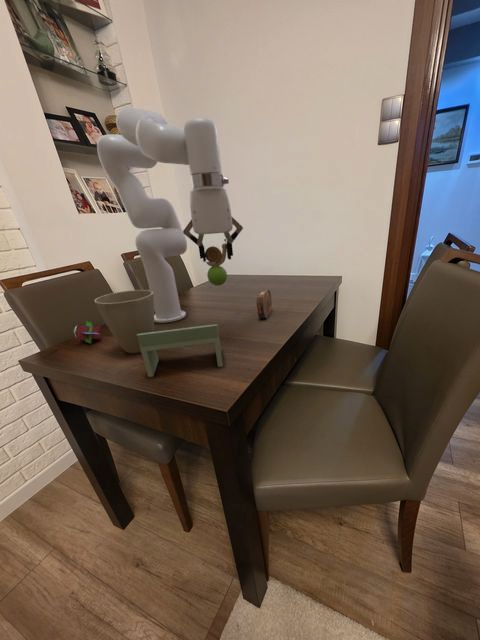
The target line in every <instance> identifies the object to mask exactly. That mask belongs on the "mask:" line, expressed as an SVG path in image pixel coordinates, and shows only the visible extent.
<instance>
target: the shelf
mask: <svg viewBox="0 0 480 640" xmlns="http://www.w3.org/2000/svg"><path fill="white" fill-rule="evenodd" d="M137 339H138V342H139V346H140V349H141V352H140V353H141V356H142V360H143V363H144V367H145V371H146V375H147V378H153V377H154V375H155V373H156V369H157V367H158V364H159V356H158V352H157V351H160V350H168V349H174V348H175V349H176V348H183V347H191V346H197V345H206V344H213V343H214V349H215V356H216V363H217V368H222V367H224V365H223V357H222V349H221V342H220V335H219V327H218V324H217V323H215V324H206V325H200V326H190V327H182V328H174V329H173V328H172V329H166V330H158V331H153V332H149V333H140V334H137Z"/></svg>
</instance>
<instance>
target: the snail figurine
mask: <svg viewBox="0 0 480 640" xmlns="http://www.w3.org/2000/svg"><path fill="white" fill-rule="evenodd" d="M223 241H224V242H225V243H222V244H221V248H222V251H221V249H219V247H217V246H209V247H207V248H206V250H205V257H206V261H205V264H206V265H208V266H209V267H210V268H208V270H207V275H206V276H207V280H208V281H209V282H210V284H211V285H214V286H222V285H224V284H225V283H226V281H227V279H228V273H227V270H226V269H225V268H224V267H223V266H221V265H223V264H224V263H225V261H226V258H227V245H226V244H227V239H226V238H224V239H223Z"/></svg>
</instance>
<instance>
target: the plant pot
mask: <svg viewBox="0 0 480 640" xmlns="http://www.w3.org/2000/svg"><path fill="white" fill-rule="evenodd" d="M94 304H95V306H96V308H97V310H98V312H99V314H100V316H101V318H102V319H103V321H104V323H105V325H106V327H107V328H108V330H109V331H110V333H111V335H112V336H113V337H114V339H115V341H116V342H117V343H118V344H119V345H120V347H121V348H122V349H123V351H124V352H125V353H127V354H138V353H139V354H140V353H141V349H140V346H139V342H138V339H137V334H140V333H149V332H154V328H155V322H154V315H155V310H154V298H153V292H152V291H150V289H132V290H123V291H119V292H118V291H117V292H113V293H108V294H104V295H101V296H98V297H96V298H95V299H94Z"/></svg>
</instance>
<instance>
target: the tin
mask: <svg viewBox="0 0 480 640" xmlns="http://www.w3.org/2000/svg"><path fill="white" fill-rule="evenodd" d="M271 294H272V293H271V291H270V290H269V289H265V290H264V289H263V290H261V291H260V293H259V294H258V296H257V297H256V308H257V316H258V318H259V319H268V317H269V316H270V314H271V312H272V304H273V303H272V295H271Z"/></svg>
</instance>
